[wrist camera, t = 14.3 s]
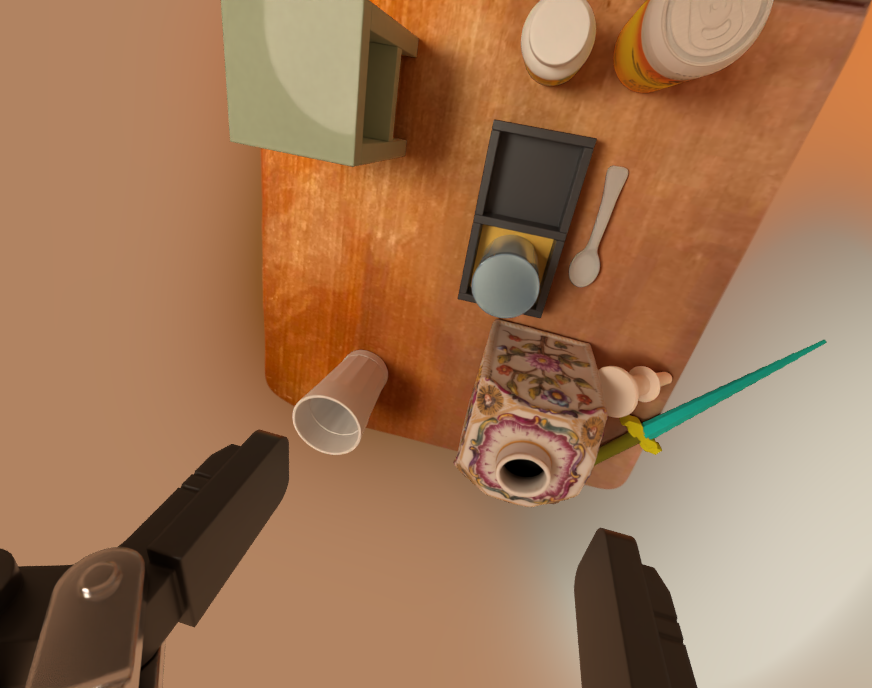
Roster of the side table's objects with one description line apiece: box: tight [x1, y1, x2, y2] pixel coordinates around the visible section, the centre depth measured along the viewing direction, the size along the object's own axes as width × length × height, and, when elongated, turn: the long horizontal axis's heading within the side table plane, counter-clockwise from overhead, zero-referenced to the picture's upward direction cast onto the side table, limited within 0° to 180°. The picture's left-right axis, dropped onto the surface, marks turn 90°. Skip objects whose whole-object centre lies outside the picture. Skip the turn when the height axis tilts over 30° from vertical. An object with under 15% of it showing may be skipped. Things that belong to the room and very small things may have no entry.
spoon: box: [569, 166, 628, 287], centre depth 42 cm, size 3×12×2 cm, turn 170°
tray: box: [458, 120, 597, 318], centre depth 42 cm, size 17×9×3 cm, turn 171°
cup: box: [293, 350, 388, 455], centre depth 51 cm, size 8×8×12 cm
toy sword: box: [594, 340, 826, 465], centre depth 49 cm, size 3×6×30 cm
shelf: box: [221, 0, 419, 167], centre depth 35 cm, size 10×10×14 cm
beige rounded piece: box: [598, 366, 672, 418], centre depth 45 cm, size 5×5×10 cm
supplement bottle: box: [521, 0, 596, 86], centre depth 33 cm, size 5×5×10 cm
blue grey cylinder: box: [471, 235, 540, 318], centre depth 42 cm, size 6×6×8 cm
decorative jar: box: [454, 319, 608, 507], centre depth 43 cm, size 12×12×18 cm
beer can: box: [613, 0, 774, 93], centre depth 29 cm, size 6×6×15 cm
